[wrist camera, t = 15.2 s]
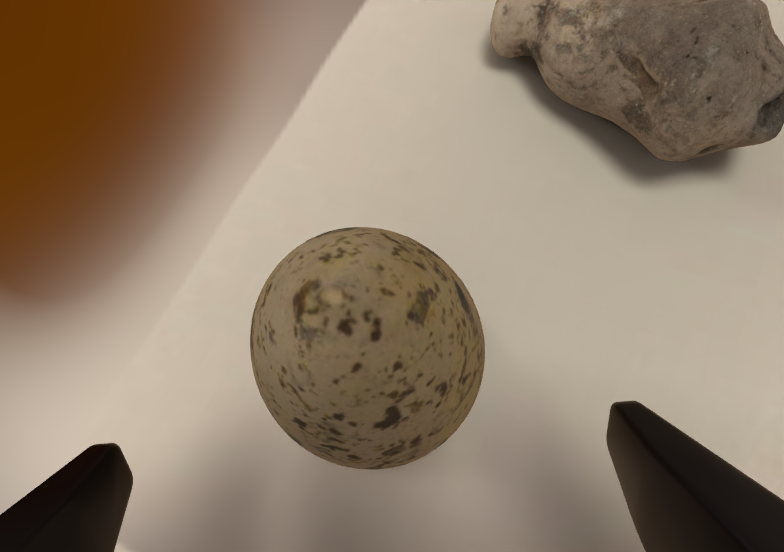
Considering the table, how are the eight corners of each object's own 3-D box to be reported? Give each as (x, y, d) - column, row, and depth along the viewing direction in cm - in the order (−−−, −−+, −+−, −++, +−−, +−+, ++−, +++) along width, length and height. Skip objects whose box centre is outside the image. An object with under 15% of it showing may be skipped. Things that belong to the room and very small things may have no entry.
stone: (463, 63, 23) (488, 113, 16) (517, -80, 20) (576, -93, 13) (659, 133, 24) (759, 206, 17) (735, 9, 21) (890, 40, 15)
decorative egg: (420, 493, 17) (425, 585, 7) (265, 405, 18) (82, 381, 8) (497, 331, 18) (589, 222, 8) (348, 258, 19) (279, 86, 9)
